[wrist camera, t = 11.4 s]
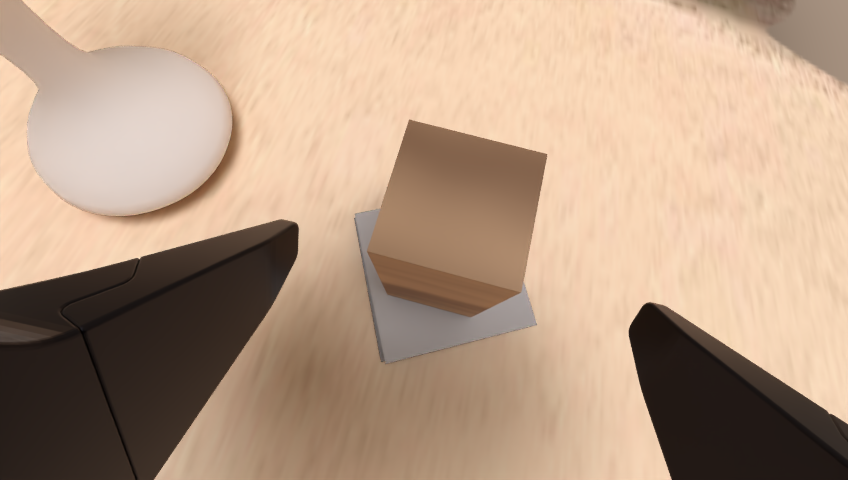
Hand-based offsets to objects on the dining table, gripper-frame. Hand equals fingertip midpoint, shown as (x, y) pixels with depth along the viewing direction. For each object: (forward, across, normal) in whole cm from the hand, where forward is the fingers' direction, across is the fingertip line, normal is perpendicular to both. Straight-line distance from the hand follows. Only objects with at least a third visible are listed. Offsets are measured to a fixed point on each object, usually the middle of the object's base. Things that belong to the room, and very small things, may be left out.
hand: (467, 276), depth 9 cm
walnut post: (+10, 0, +7) cm, 12 cm away
